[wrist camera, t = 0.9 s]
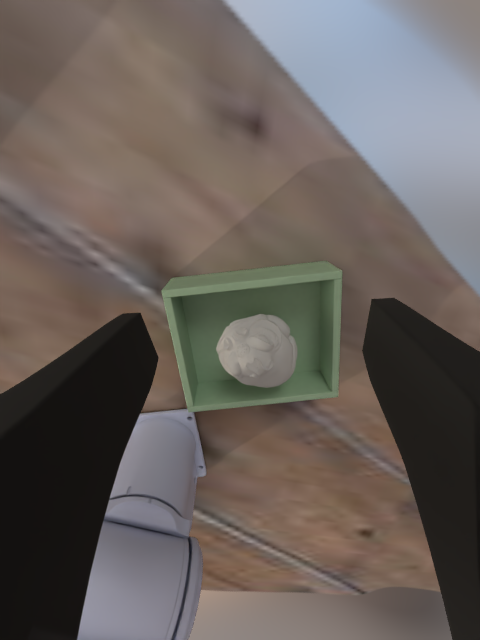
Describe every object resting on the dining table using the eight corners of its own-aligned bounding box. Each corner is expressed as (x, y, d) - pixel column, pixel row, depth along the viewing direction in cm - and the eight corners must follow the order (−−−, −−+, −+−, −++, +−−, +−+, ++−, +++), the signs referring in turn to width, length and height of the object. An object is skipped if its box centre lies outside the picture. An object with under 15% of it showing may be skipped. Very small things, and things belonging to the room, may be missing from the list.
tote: (325, 372, 28) (338, 397, 25) (193, 386, 28) (188, 412, 25) (326, 260, 24) (342, 270, 20) (171, 277, 24) (161, 290, 20)
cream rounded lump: (254, 280, 24) (262, 309, 18) (304, 335, 26) (327, 378, 20) (203, 325, 25) (194, 367, 19) (254, 373, 28) (261, 425, 21)
